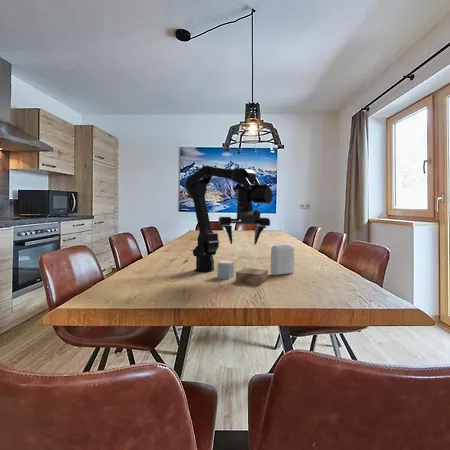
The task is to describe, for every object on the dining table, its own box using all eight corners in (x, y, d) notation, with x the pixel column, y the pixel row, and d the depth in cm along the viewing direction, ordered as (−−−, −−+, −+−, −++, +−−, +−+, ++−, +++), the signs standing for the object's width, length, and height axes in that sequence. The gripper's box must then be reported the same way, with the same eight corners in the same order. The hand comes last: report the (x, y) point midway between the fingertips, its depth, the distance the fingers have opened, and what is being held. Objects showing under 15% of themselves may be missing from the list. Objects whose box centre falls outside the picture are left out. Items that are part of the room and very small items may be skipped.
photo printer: (287, 271, 140) (288, 241, 139) (295, 273, 137) (296, 242, 136) (268, 274, 134) (269, 243, 134) (276, 276, 131) (276, 244, 130)
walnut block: (235, 283, 119) (236, 272, 119) (244, 278, 127) (244, 268, 127) (260, 286, 116) (260, 274, 115) (267, 280, 124) (267, 270, 124)
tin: (217, 278, 126) (217, 262, 126) (222, 275, 130) (222, 260, 130) (229, 279, 124) (229, 263, 124) (233, 276, 129) (234, 261, 128)
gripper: (223, 202, 117) (221, 246, 119) (275, 203, 120) (273, 247, 121) (219, 201, 128) (217, 242, 130) (266, 203, 131) (265, 243, 132)
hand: (243, 244), depth 128 cm, fingers open, 9 cm apart
